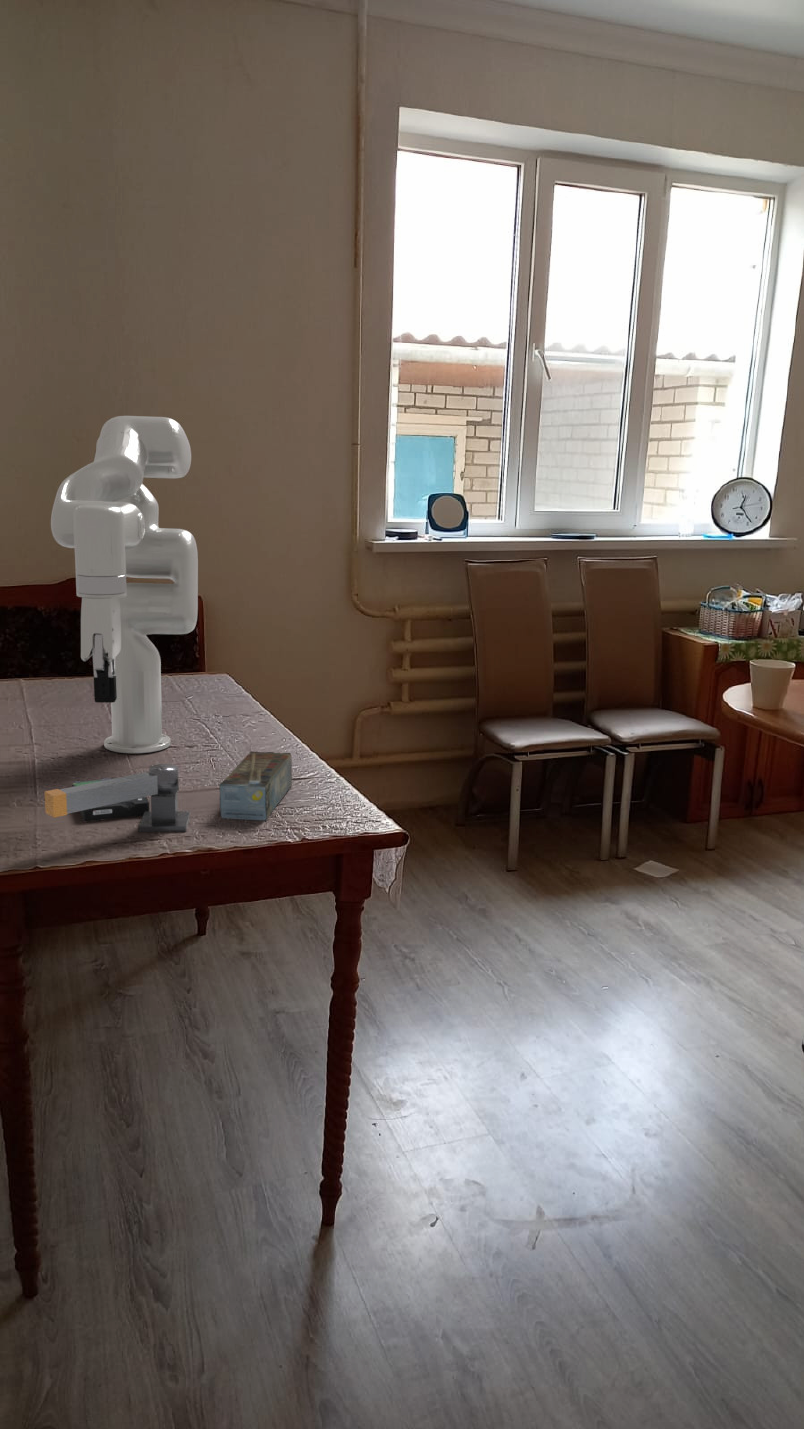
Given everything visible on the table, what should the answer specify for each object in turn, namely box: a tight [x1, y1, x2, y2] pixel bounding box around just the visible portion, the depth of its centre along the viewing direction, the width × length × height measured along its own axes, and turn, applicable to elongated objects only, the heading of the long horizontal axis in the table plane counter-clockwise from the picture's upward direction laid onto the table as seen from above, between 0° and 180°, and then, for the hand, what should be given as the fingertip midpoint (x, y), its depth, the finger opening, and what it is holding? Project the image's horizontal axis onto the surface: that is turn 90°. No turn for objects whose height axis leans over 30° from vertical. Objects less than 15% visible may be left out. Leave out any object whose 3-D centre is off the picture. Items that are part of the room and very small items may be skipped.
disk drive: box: [71, 777, 151, 822], centre depth 171 cm, size 10×3×15 cm
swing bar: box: [44, 763, 180, 818], centre depth 155 cm, size 21×4×4 cm, turn 133°
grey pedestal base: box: [138, 791, 191, 833], centre depth 162 cm, size 7×7×5 cm
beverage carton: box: [219, 750, 293, 822], centre depth 174 cm, size 8×19×7 cm, turn 173°
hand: (105, 701), depth 167 cm, fingers closed
